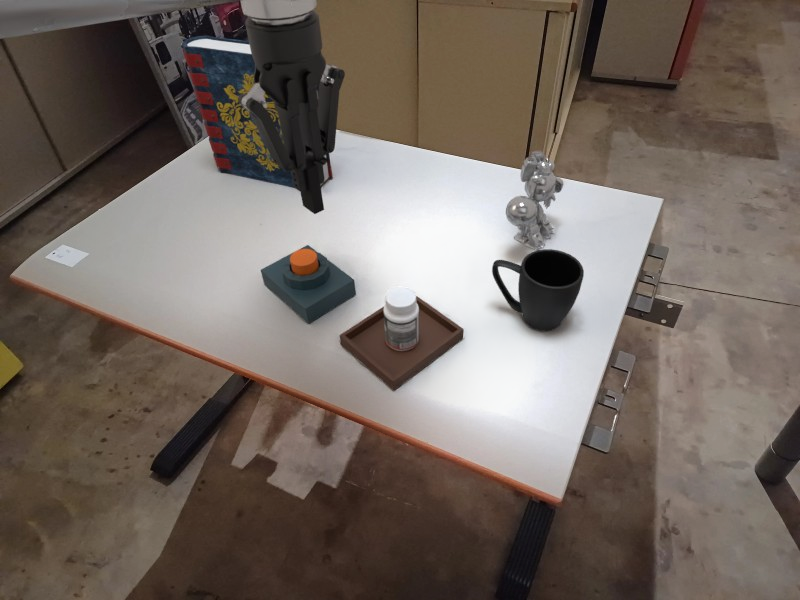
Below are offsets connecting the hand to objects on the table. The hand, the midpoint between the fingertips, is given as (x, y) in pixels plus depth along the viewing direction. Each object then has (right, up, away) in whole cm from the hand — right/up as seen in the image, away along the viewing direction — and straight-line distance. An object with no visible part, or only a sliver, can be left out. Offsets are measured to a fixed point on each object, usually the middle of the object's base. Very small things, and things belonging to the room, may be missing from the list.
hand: (313, 207), depth 72 cm
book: (-15, +13, +40) cm, 44 cm away
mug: (+30, -14, +8) cm, 35 cm away
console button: (-3, -7, +10) cm, 13 cm away
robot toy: (+33, -2, +21) cm, 39 cm away
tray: (+12, -18, +5) cm, 22 cm away
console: (-3, -11, +14) cm, 17 cm away
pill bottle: (+12, -18, +5) cm, 22 cm away
